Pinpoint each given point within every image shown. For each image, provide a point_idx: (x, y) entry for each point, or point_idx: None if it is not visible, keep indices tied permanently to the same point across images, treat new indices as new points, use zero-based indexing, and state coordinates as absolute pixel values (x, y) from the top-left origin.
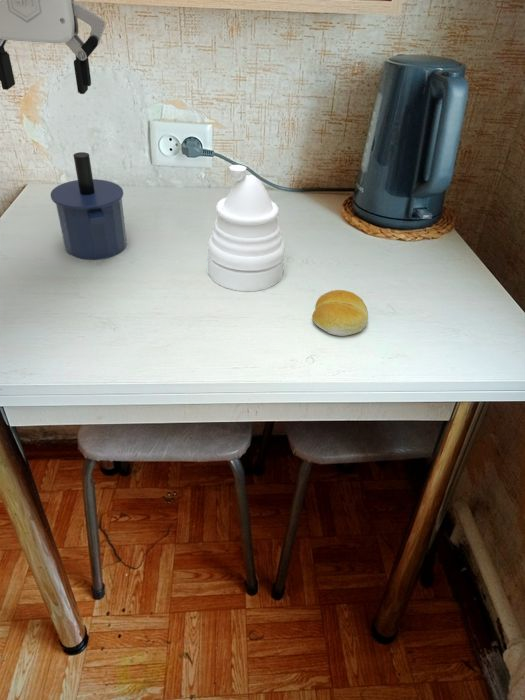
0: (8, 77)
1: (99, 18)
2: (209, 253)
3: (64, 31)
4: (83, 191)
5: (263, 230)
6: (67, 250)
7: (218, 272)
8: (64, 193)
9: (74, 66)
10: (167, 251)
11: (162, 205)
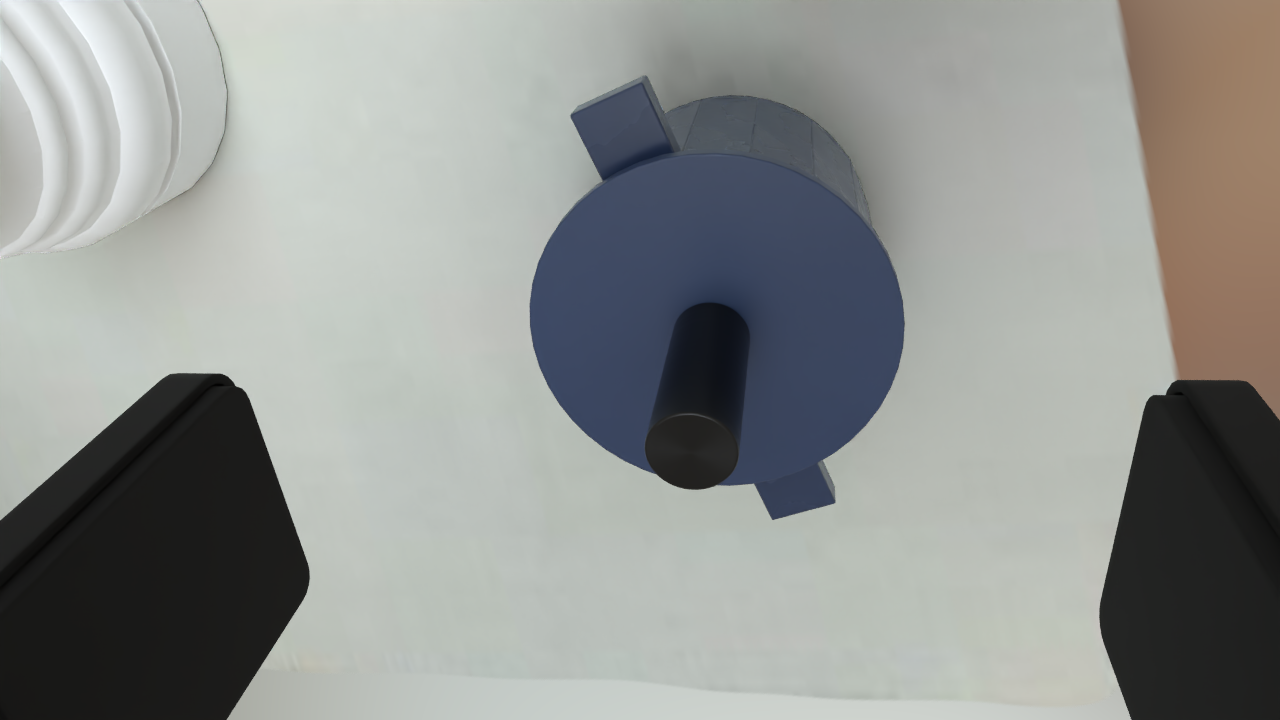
0: (1175, 559)
1: None
2: (133, 27)
3: None
4: (718, 312)
5: None
6: (841, 150)
7: None
8: (827, 311)
9: (14, 585)
10: (425, 197)
11: (546, 555)
